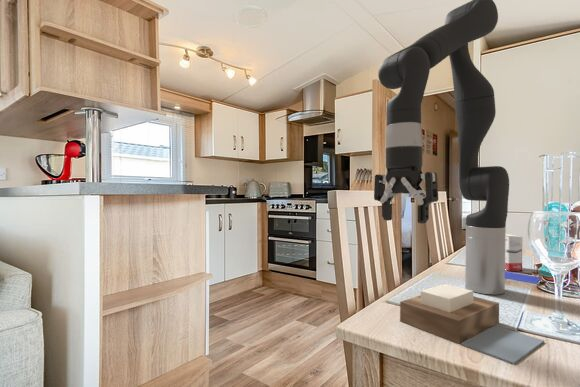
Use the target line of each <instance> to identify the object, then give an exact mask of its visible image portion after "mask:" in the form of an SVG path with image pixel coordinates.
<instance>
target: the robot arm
mask: <svg viewBox="0 0 580 387" xmlns="http://www.w3.org/2000/svg"><path fill="white" fill-rule="evenodd" d="M498 21H499V13H498V8H497V4H496V3H495V2H494V0H471V1H469V2H466V3H464V4H462V5H460V6H458V7H456V8H454V9H452V10H451V11H449V12H448V13H447V14H446V16H445V19H444V24H443V25H441V26H439V27H437V28H435V29H433V30H432V31H430V32H428V33H427V34H425V35H423V36H422V37H420V38H418V40H416V41H415V42H413V43H412V44H410V45H409V46H407V47H405V48H402V49H401V50H399V51H397V52H394V53H393V54H391V55H388V56H387V57H386V58H385V59H384V60H383V61H381V63H380V65H379V68H378V72H377V74H378V75H377V76H378V81H379V83H380V84H381V86H383V87H385V88H386V89H388V90H397V89H400V90H399V92H398V93H397V94H396V95H395V96H393V97H392V98H390V99H389V100H388V101H387V103H386V128H385V129H386V130H385V140H384V141H385V143H384V145H385V146H384V147H385V148H384V149H385V169H386V170H387V171H386V174H379V173H378V174H375V176H374V192H373V199H374V201H378V202H379V203H381V217H382V218H383V220H384V221H392V220H393V204H392V201H393V200H394V198H395V197H396V196H397V195H398V194H410V195H411V197H413V198H414V200H416V202H417V223H418V224H426V223H427V221H429V218H430V213H429V212H430V209H429V208H430V207H429V206H430V204H432V203H436V202H438V201H439V185H438V184H439V183H438V174H437V172H436V171H435V172H431V171H427V172H425V173H424V172H423V171H422V168H423V164H424V162H423V129H422V102H423V99H424V94H425V91H426V87H427V83H428V81H429V76H430V70H431V69H433V68H435V67H436V66H438V64H439V63H441V62H442V61H444V60H445V59H446V58H448V57H449V61H450V66H451V74H452V75H451V76H452V84H453V96H454V111H455V120H456V126H457V138H458V181H459V182H458V183H459V190H460V193H461V196H462V197H463V198H464V199H465V200H467V201H475V202H476V201H478V202H479V201H480V202H485V206H484V207H483V208H482V209H480V210H479V211H476V212H473V213H469V214H468V215H466V216H465V271H464V272H465V273H464V274H465V275H464V276H465V277H464V278H465V280H464V283H465V285H464V286H465V289H468V290H472V291H473V293H474V292H475V293H477V294H478V293H479V294H484V295H492V296H494V295H503V294H505V293H506V280H505V271H506V270H505V241H506V239H505V236H506V234H507V232H506V229H507V228H506V227H507V226H506V225H507V217H508V212H509V211H508V209H509V208H508V206H509V195H510V177H509V176H510V175H509V173H508V170H507V169H506V168H505V167H503V166H498V165H497V166H495V165H493V166H490V165H489V166H479V153H480V149H481V145H482V143H483V141H484V139H485V138H486V136H487V134H488V132H489V131H490V128H491V127H492V125H493V123H494V120H495V118H496V110H497V109H496V99H495V91H494V88H493V85H492V84H491V83H490V81H489V79H487V78H486V77H485V76H484V74H482V72H481V71H480V70H479V69H478V68H477V67H476V65H475V64H474V62H473V61H472V59H471V54H470V51H469V43H471V42H473V41H476V40H478V39H481V38H483V37H486V36H487V35H489V34H491V33H493V31H494V30H495V28H496V26H497V25H498ZM422 182H423V183H424V184H425V187H424V188H425V189H424V188H423V187H422V185H421V183H422ZM386 184H387V186H386Z"/></svg>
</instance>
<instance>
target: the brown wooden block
mask: <svg viewBox="0 0 580 387" xmlns="http://www.w3.org/2000/svg"><path fill="white" fill-rule="evenodd" d="M399 306H400V307H399V308H400V310H399V322H402V323H404V324H406V325H409V326H410V327H411V326H412V327H415V328H417V329H419V330H422V331H425V332H427V333H430V334H433V335H435V336H438V337H441V338H443V339H446V340H449V341H451V342H454V343H456V344H462V342H464V341H466V340H468V339H470V338H472V337H474V336H476V335H478V334H479V333H481V332H483V331H485V330H487V329H489V328H491V327H493V326H495V325H497V324H498V323H500V302H497V301H493V300H490V299H486V298H482V297H478V296H474V295H473V303H472V304H470V305H467V306H465V307H462V308H460V309H457V310H455V311H452V312H446V311H443V310H440V309H437V308H434V307H430V306H427V305H424V304H421V294H420V295H417V296H415V297H411V298H407V299H404V300H402V301H400V302H399Z"/></svg>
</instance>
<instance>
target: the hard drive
mask: <svg viewBox="0 0 580 387" xmlns="http://www.w3.org/2000/svg"><path fill="white" fill-rule="evenodd" d="M539 277H540V276H535V275H528V274H523V273H517V272H513V271H507V270H505V281H508V282H514V283H520V284H525V285H530V286H531V285H532V286H536V287H537V286H538V285H539V284H540V283H539V281H541V279H540V278H539ZM538 283H539V284H538ZM537 284H538V285H537Z"/></svg>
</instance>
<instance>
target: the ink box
mask: <svg viewBox="0 0 580 387" xmlns="http://www.w3.org/2000/svg"><path fill="white" fill-rule="evenodd" d="M505 239H506V241H505V269H506V270H505V271H507V270H508V271H507V272H521V271H520V270H522V271H523V236H519V235H515V234H510V233H506V236H505Z"/></svg>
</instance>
